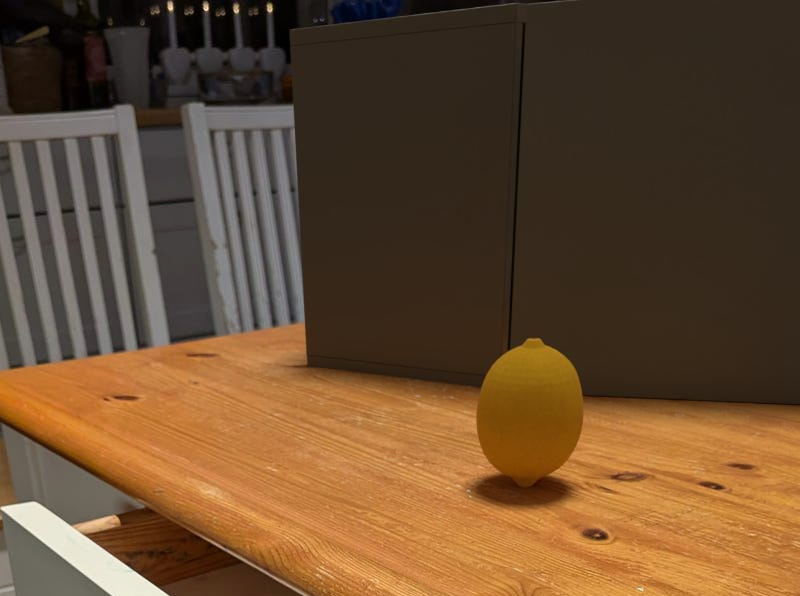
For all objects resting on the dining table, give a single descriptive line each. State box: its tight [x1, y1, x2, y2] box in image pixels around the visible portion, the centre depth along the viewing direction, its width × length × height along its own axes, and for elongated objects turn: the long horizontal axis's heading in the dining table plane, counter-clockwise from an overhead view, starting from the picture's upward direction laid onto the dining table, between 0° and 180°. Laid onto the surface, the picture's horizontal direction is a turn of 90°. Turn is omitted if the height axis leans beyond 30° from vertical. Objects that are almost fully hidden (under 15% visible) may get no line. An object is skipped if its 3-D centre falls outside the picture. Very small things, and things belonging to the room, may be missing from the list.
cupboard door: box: [510, 0, 800, 405], centre depth 57 cm, size 8×26×24 cm, turn 70°
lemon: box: [475, 338, 585, 489], centre depth 51 cm, size 6×6×8 cm
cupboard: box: [289, 2, 528, 389], centre depth 79 cm, size 18×26×24 cm
